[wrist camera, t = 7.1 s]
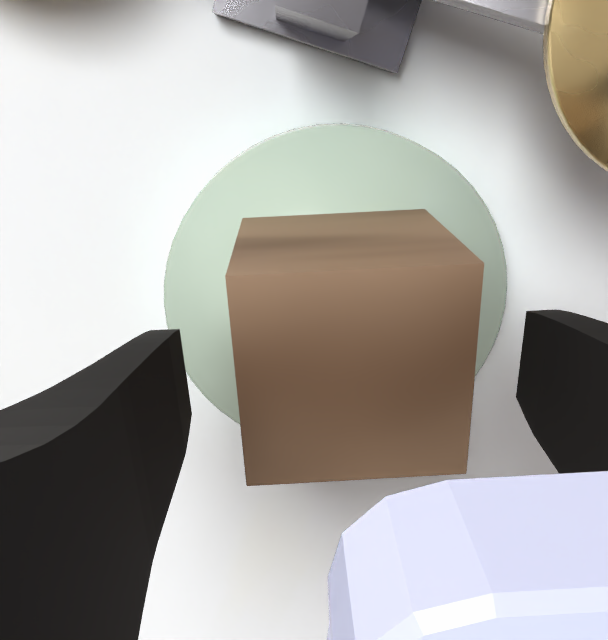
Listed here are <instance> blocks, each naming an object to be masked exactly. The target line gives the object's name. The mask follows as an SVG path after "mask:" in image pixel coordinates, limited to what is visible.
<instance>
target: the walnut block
mask: <svg viewBox="0 0 608 640" xmlns="http://www.w3.org/2000/svg"><path fill="white" fill-rule="evenodd" d="M483 273H484V262H483V261H482V260H480V259H479V258H478V257H477V256H476V255H475V254H474V253H473V252H472V251H471V250H469V249H468V248H467V247H466V246H465V245H464V244H463V243H462V242H461V241H460V240H458V239H457V238H456V237H455V236H454V235H453V234H452V233H451V232H450V231H449V230H447V229H446V228H445V227H444V226H443V225H442V224H441V223H440V222H439V221H438V220H436V219H435V218H434V217H433V216H432V215H431V214H430V213H429V212H428V211H427V210H425V209H412V210H392V211H372V212H352V213H332V214H312V215H292V216H272V217H252V218H242V221H241V225H240V228H239V231H238V235H237V238H236V242H235V245H234V248H233V252H232V255H231V258H230V262H229V265H228V269H227V272H226V275H225V279H226V289H227V299H228V309H229V318H230V328H231V338H232V348H233V358H234V367H235V377H236V387H237V397H238V406H239V416H240V426H241V436H242V446H243V455H244V465H245V475H246V485H247V486H256V485H273V484H291V483H309V482H326V481H344V480H362V479H379V478H397V477H415V476H433V475H450V474H466V471H467V459H468V447H469V436H470V424H471V413H472V401H473V389H474V378H475V366H476V355H477V343H478V331H479V320H480V308H481V297H482V285H483Z"/></svg>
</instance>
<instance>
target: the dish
mask: <svg viewBox="0 0 608 640" xmlns="http://www.w3.org/2000/svg"><path fill="white" fill-rule="evenodd" d="M412 209H425V210H427V211H428V212H429V213H430V214H431V215H432V216H433V217H434V218H435V219H436V220H438V221H439V222H440V223H441V224H442V225H443V226H444V227H445V228H446V229H447V230H449V231H450V232H451V233H452V234H453V235H454V236H455V237H456V238H457V239H458V240H460V241H461V242H462V243H463V244H464V245H465V246H466V247H467V248H468V249H469V250H471V251H472V252H473V253H474V254H475V255H476V256H477V257H478V258H479V259H480V260H482V261H483V262H484V273H483V285H482V297H481V308H480V320H479V331H478V343H477V355H476V366H475V375H476V374H477V373H478V371H479V370H480V368H481V367H482V366H483V364H484V362H485V360H486V358H487V356H488V355H489V353H490V351H491V349H492V347H493V344H494V342H495V339H496V337H497V334H498V332H499V329H500V325H501V321H502V317H503V313H504V309H505V301H506V291H507V274H506V262H505V256H504V251H503V245H502V242H501V239H500V236H499V233H498V230H497V227H496V224H495V222H494V220H493V218H492V216H491V214H490V212H489V210H488V208H487V206H486V204H485V203H484V202H483V200H482V199H481V197H480V196H479V195H478V193H477V192H476V190H475V189H474V187H473V186H472V185H471V184H470V183H469V182H468V181H467V180H466V179H465V178H464V177H463V176H462V175H461V174H460V172H459V171H458V170H457V169H455V168H454V167H453V166H451V165H450V164H449V163H448V162H446V161H445V160H444V159H443V158H441V157H440V156H439V155H437V154H435V153H434V152H432V151H430V150H428V149H427V148H425V147H423V146H421V145H419V144H418V143H416V142H414V141H411V140H409V139H407V138H404V137H402V136H399V135H397V134H394V133H392V132H389V131H386V130H382V129H377V128H373V127H369V126H364V125H354V124H343V123H339V124H318V125H312V126H307V127H302V128H296V129H292V130H289V131H286V132H283V133H280V134H277V135H274V136H272V137H270V138H268V139H266V140H263V141H261V142H259V143H257V144H255V145H253V146H251V147H250V148H248V149H247V150H245V151H244V152H242V153H241V154H239V155H238V156H236V157H235V158H234V159H232V160H231V161H230V162H229V163H228V164H226V165H225V166H224V167H223V168H222V169H221V170H220V171H219V172H218V173H216V174H215V175H214V176H213V178H212V179H211V180H210V181H209V182H208V184H207V185H206V186H205V187H204V188H203V190H202V191H201V192H200V193H199V195H198V196H197V197H196V199H195V200H194V202H193V203H192V205H191V207H190V208H189V210H188V211H187V213H186V215H185V216H184V218H183V219H182V221H181V224H180V226H179V228H178V230H177V233H176V235H175V237H174V239H173V242H172V246H171V249H170V253H169V256H168V260H167V265H166V272H165V280H164V307H165V314H166V321H167V326H168V330H169V329H180V335H181V342H182V349H183V356H184V363H185V370H186V372H187V374H188V375H189V377H190V378H191V380H192V381H193V383H194V384H195V385H196V386H197V387H198V389H199V390H200V391H201V392H202V394H203V395H204V396H205V397H206V398H207V399H208V400H209V401H210V402H211V403H212V404H214V405H215V406H216V407H217V408H218V409H219V410H220V411H221V412H223V413H224V414H226V415H227V416H228V417H230V418H231V419H232V420H234V421H235V422H237V423H239V424H240V416H239V406H238V397H237V387H236V377H235V367H234V358H233V348H232V338H231V328H230V318H229V309H228V299H227V289H226V279H225V275H226V272H227V269H228V265H229V262H230V258H231V255H232V252H233V248H234V245H235V242H236V238H237V235H238V231H239V228H240V225H241V221H242V218H252V217H272V216H292V215H312V214H332V213H352V212H372V211H392V210H412Z"/></svg>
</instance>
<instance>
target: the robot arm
mask: <svg viewBox="0 0 608 640" xmlns="http://www.w3.org/2000/svg"><path fill="white" fill-rule="evenodd" d="M516 398H517V400H518V402H519V405H520V407H521V409H522V411H523V414H524V416H525V418H526V420H527V422H528V424H529V426H530V428H531V430H532V433H533V434H534V436H535V438H536V439H537V441H538V442H539V444H540V445H541V447H542V448H543V450H544V451H545V453H546V454H547V456H548V457H549V459H550V460H551V462H552V463H553V465H554V466H555V468H556V469H557V471H558V472H559V474H545V475H527V476H509V477H490V478H472V479H454V480H445V481H441V482H437V483H433V484H430V485H426V486H422V487H418V488H415V489H411V490H407V491H403V492H400V493H396V494H392V495H388V496H385V497H384V498H383V499H382V500H381V501H379V502H378V503H377V504H376V505H375V506H373V507H372V508H371V509H370V510H369V511H367V512H366V513H365V514H364V515H363V516H362V517H360V518H359V519H358V520H357V521H356V522H354V523H353V524H352V525H351V526H350V527H348V528H347V529H346V530H345V531H344V532H342V534H341V538H340V541H339V544H338V547H337V550H336V553H335V556H334V559H333V563H332V566H331V569H330V572H329V575H328V599H329V629H328V636H327V640H608V323H605V322H602V321H599V320H596V319H593V318H590V317H586V316H583V315H579V314H576V313H572V312H567V311H562V310H539V311H526V319H525V328H524V336H523V344H522V352H521V360H520V369H519V377H518V385H517V393H516ZM191 416H192V412H191V405H190V398H189V391H188V384H187V377H186V370H185V363H184V356H183V349H182V342H181V335H180V329H169V330H150V331H148V332H145V333H143V334H141V335H139V336H137V337H136V338H134V339H132V340H130V341H129V342H127V343H126V344H124V345H122V346H121V347H119V348H118V349H116V350H114V351H113V352H111V353H110V354H108V355H106V356H105V357H103V358H101V359H100V360H98V361H97V362H95V363H93V364H92V365H90V366H88V367H87V368H85V369H83V370H81V371H79V372H78V373H76V374H74V375H72V376H71V377H69V378H67V379H65V380H63V381H62V382H60V383H58V384H56V385H54V386H53V387H51V388H49V389H47V390H45V391H43V392H41V393H38V394H36V395H34V396H32V397H30V398H28V399H25V400H23V401H21V402H19V403H16V404H14V405H12V406H10V407H7V408H5V409H2V410H0V640H138V636H139V630H140V624H141V619H142V613H143V608H144V603H145V598H146V592H147V587H148V582H149V577H150V572H151V567H152V562H153V558H154V555H155V551H156V547H157V543H158V540H159V537H160V534H161V530H162V527H163V524H164V521H165V518H166V515H167V511H168V508H169V505H170V502H171V499H172V496H173V493H174V489H175V486H176V483H177V480H178V477H179V473H180V470H181V467H182V464H183V460H184V457H185V454H186V448H187V442H188V436H189V430H190V423H191Z"/></svg>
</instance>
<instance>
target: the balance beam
mask: <svg viewBox="0 0 608 640" xmlns="http://www.w3.org/2000/svg"><path fill="white" fill-rule="evenodd" d="M433 1H436V2H439V3H442V4H446V5H449V6H452V7H456V8H459V9H462V10H466V11H469V12H472V13H476V14H479V15H482V16H485V17H489V18H492V19H495V20H499V21H502V22H505V23H509V24H512V25H515V26H518V27H522V28H525V29H528V30H532V31H535V32H538V33H542V34H544V36H543V54H544V68H545V74H546V80H547V86H548V89H549V92H550V96H551V99H552V102H553V105H554V108H555V110H556V112H557V114H558V116H559V118H560V120H561V122H562V124H563V126H564V128H565V129H566V130H567V132H568V133H569V135H570V136H571V138H572V139H573V141H574V142H575V143H576V144H577V145H578V146H579V148H580V149H581V150H582V151H583V152H584V153H585V154H586V155H587V156H588V157H589V158H590V159H591V160H593V161H594V162H595V163H597V164H598V165H599V166H600V167H602V168H603V169H604V170H606V171H608V0H433Z"/></svg>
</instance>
